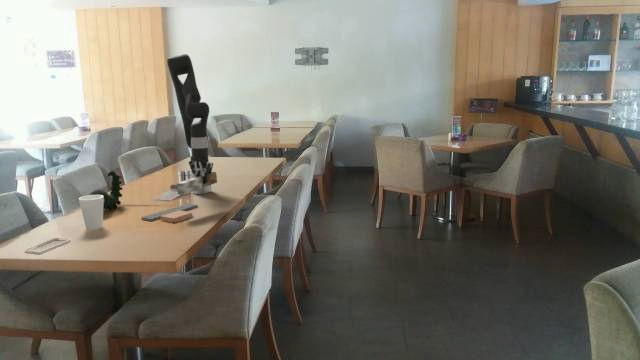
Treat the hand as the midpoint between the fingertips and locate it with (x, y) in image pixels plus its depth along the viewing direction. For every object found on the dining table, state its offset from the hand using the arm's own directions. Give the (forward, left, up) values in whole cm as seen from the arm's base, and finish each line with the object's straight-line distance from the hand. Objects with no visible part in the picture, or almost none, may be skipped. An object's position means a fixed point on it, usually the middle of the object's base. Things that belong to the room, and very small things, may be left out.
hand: (202, 183), depth 237 cm
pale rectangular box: (+3, 0, -2) cm, 3 cm away
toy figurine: (+23, -40, -13) cm, 48 cm away
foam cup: (+43, -20, -13) cm, 50 cm away
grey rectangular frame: (+67, -13, -14) cm, 70 cm away
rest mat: (+11, -10, -13) cm, 20 cm away
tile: (+11, 0, -12) cm, 16 cm away
